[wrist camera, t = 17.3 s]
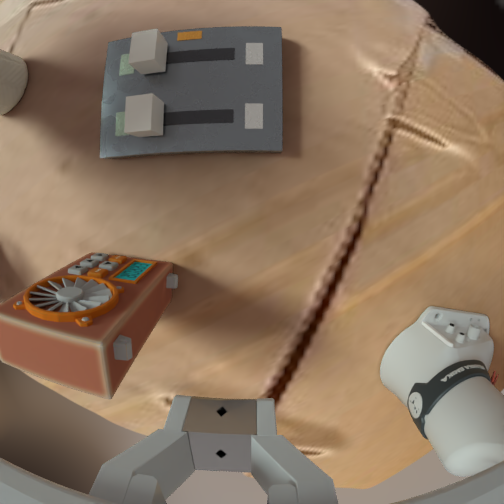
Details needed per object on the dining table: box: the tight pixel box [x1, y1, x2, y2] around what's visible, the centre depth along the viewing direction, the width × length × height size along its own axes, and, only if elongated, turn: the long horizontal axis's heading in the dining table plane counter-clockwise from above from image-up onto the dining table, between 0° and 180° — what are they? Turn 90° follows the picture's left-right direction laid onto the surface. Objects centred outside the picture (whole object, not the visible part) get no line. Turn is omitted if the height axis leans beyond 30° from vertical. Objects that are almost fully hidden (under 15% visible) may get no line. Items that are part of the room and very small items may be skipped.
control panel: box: [0, 253, 178, 399], centre depth 30 cm, size 21×7×15 cm
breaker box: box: [100, 27, 282, 159], centre depth 33 cm, size 22×16×3 cm
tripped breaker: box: [129, 29, 168, 74], centre depth 28 cm, size 3×4×4 cm
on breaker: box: [124, 93, 164, 137], centre depth 30 cm, size 3×4×4 cm
